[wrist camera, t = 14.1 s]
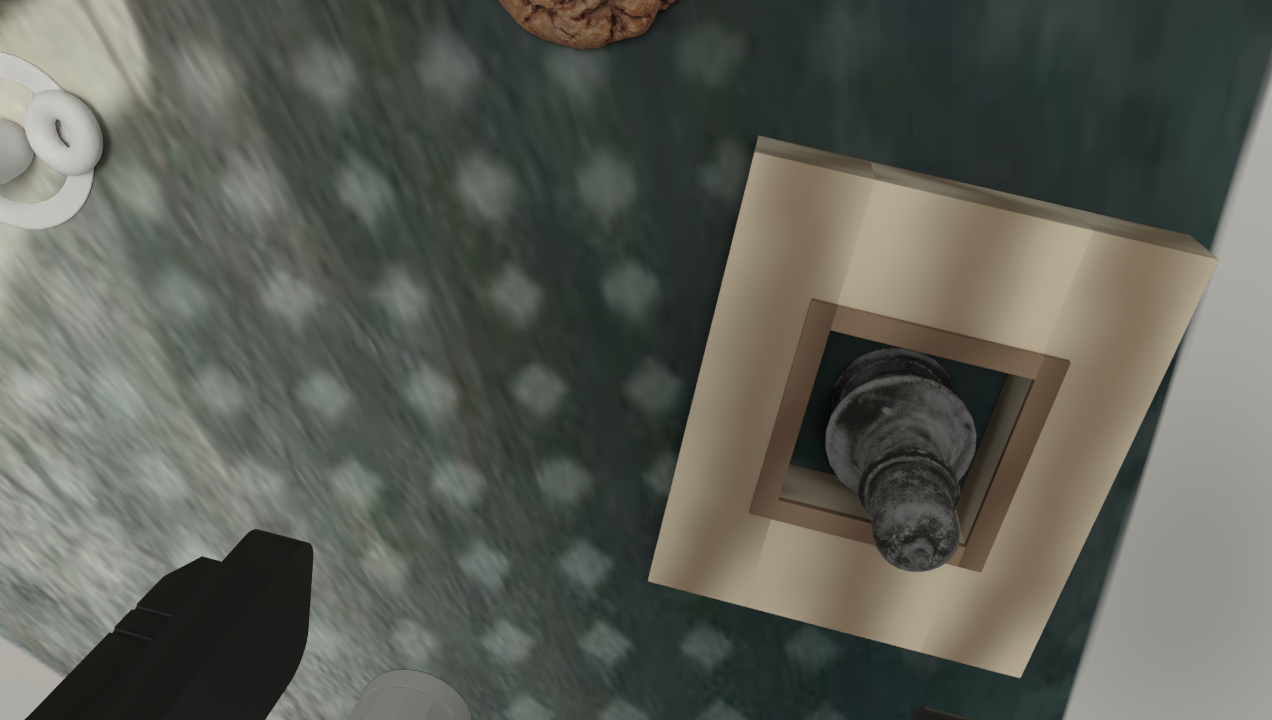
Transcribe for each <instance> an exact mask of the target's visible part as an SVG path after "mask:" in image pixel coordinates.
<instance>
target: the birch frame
mask: <svg viewBox="0 0 1272 720" xmlns="http://www.w3.org/2000/svg"><path fill="white" fill-rule="evenodd" d="M1218 261H1219V260H1218V259H1217V258H1216V257H1215V256H1214V255H1213V254H1211V253H1210V252H1209V251H1208V250H1207V249H1206V248H1204V247H1203V246H1202V245H1201V244H1200V243H1199V242H1197V241H1196V240H1195V239H1194V238H1193V237H1192V236H1190V235H1186V234H1182V233H1178V232H1173V231H1169V230H1165V229H1161V228H1156V227H1152V226H1148V225H1143V224H1139V223H1135V222H1130V221H1126V220H1122V219H1117V218H1113V217H1109V216H1104V215H1100V214H1096V213H1091V212H1087V211H1083V210H1078V209H1074V208H1070V207H1066V206H1061V205H1057V204H1053V203H1048V202H1044V201H1040V200H1035V199H1031V198H1027V197H1022V196H1018V195H1014V194H1009V193H1005V192H1001V191H996V190H992V189H988V188H983V187H979V186H975V185H970V184H966V183H962V182H958V181H953V180H949V179H945V178H940V177H936V176H932V175H927V174H923V173H919V172H914V171H910V170H906V169H901V168H897V167H893V166H888V165H884V164H880V163H875V162H871V161H867V160H863V159H858V158H854V157H850V156H845V155H841V154H837V153H832V152H828V151H824V150H819V149H815V148H811V147H806V146H802V145H798V144H793V143H789V142H785V141H780V140H776V139H772V138H767V137H763V136H759V135H758V139H757V143H756V147H755V151H754V155H753V159H752V163H751V167H750V171H749V175H748V179H747V183H746V187H745V192H744V196H743V200H742V204H741V208H740V212H739V216H738V220H737V224H736V228H735V232H734V236H733V240H732V244H731V248H730V252H729V256H728V260H727V264H726V268H725V272H724V276H723V280H722V284H721V288H720V292H719V296H718V300H717V304H716V308H715V312H714V316H713V320H712V324H711V328H710V332H709V336H708V340H707V344H706V348H705V352H704V356H703V360H702V364H701V368H700V372H699V376H698V380H697V384H696V388H695V392H694V396H693V400H692V404H691V408H690V412H689V416H688V420H687V424H686V428H685V432H684V436H683V440H682V444H681V448H680V452H679V456H678V460H677V464H676V468H675V472H674V476H673V480H672V485H671V489H670V493H669V497H668V501H667V505H666V509H665V513H664V517H663V521H662V525H661V529H660V533H659V537H658V541H657V545H656V549H655V553H654V557H653V561H652V566H651V570H650V574H649V578H648V581H649V582H653V583H656V584H660V585H664V586H668V587H672V588H676V589H679V590H683V591H687V592H691V593H695V594H699V595H702V596H706V597H710V598H714V599H718V600H722V601H725V602H729V603H733V604H737V605H741V606H745V607H749V608H752V609H756V610H760V611H764V612H768V613H772V614H775V615H779V616H783V617H787V618H791V619H795V620H798V621H802V622H806V623H810V624H814V625H818V626H822V627H825V628H829V629H833V630H837V631H841V632H845V633H848V634H852V635H856V636H860V637H864V638H868V639H871V640H875V641H879V642H883V643H887V644H891V645H894V646H898V647H902V648H906V649H910V650H914V651H918V652H921V653H925V654H929V655H933V656H937V657H941V658H944V659H948V660H952V661H956V662H960V663H964V664H967V665H971V666H975V667H979V668H983V669H987V670H991V671H994V672H998V673H1002V674H1006V675H1010V676H1014V677H1017V678H1021V676H1022V674H1023V671H1024V669H1025V667H1026V665H1027V663H1028V661H1029V659H1030V657H1031V655H1032V652H1033V650H1034V648H1035V646H1036V644H1037V642H1038V640H1039V638H1040V636H1041V633H1042V631H1043V629H1044V627H1045V625H1046V623H1047V621H1048V619H1049V617H1050V615H1051V612H1052V610H1053V608H1054V606H1055V604H1056V602H1057V600H1058V598H1059V596H1060V593H1061V591H1062V589H1063V587H1064V585H1065V583H1066V581H1067V579H1068V577H1069V575H1070V572H1071V570H1072V568H1073V566H1074V564H1075V562H1076V560H1077V558H1078V556H1079V553H1080V551H1081V549H1082V547H1083V545H1084V543H1085V541H1086V539H1087V537H1088V534H1089V532H1090V530H1091V528H1092V526H1093V524H1094V522H1095V520H1096V518H1097V516H1098V513H1099V511H1100V509H1101V507H1102V505H1103V503H1104V501H1105V499H1106V497H1107V494H1108V492H1109V490H1110V488H1111V486H1112V484H1113V482H1114V480H1115V478H1116V476H1117V473H1118V471H1119V469H1120V467H1121V465H1122V463H1123V461H1124V459H1125V457H1126V454H1127V452H1128V450H1129V448H1130V446H1131V444H1132V442H1133V440H1134V438H1135V435H1136V433H1137V431H1138V429H1139V427H1140V425H1141V423H1142V421H1143V419H1144V417H1145V414H1146V412H1147V410H1148V408H1149V406H1150V404H1151V402H1152V400H1153V398H1154V395H1155V393H1156V391H1157V389H1158V387H1159V385H1160V383H1161V381H1162V379H1163V376H1164V374H1165V372H1166V370H1167V368H1168V366H1169V364H1170V362H1171V360H1172V358H1173V355H1174V353H1175V351H1176V349H1177V347H1178V345H1179V343H1180V341H1181V339H1182V336H1183V334H1184V332H1185V330H1186V328H1187V326H1188V324H1189V322H1190V320H1191V318H1192V315H1193V313H1194V311H1195V309H1196V307H1197V305H1198V303H1199V301H1200V299H1201V296H1202V294H1203V292H1204V290H1205V288H1206V286H1207V284H1208V282H1209V280H1210V277H1211V275H1212V273H1213V271H1214V269H1215V267H1216V265H1217V263H1218ZM830 330H831V331H835V332H839V333H843V334H848V335H852V336H856V337H860V338H864V339H868V340H872V341H876V342H881V343H885V344H889V345H893V346H897V347H901V348H905V349H910V350H914V351H918V352H922V353H926V354H930V355H934V356H938V357H943V358H947V359H951V360H955V361H959V362H963V363H967V364H971V365H976V366H980V367H984V368H988V369H992V370H996V371H1000V372H1004V373H1008V375H1007V377H1006V380H1005V382H1004V385H1003V387H1002V390H1001V392H1000V395H999V397H998V400H997V402H996V405H995V407H994V410H993V412H992V415H991V417H990V420H989V422H988V425H987V427H986V430H985V432H984V435H983V437H982V440H981V442H980V445H979V447H978V450H977V452H976V455H975V457H974V460H973V462H972V465H971V467H970V470H969V472H968V475H967V477H966V480H965V482H964V485H963V487H962V490H961V493H960V500H959V502H958V505H957V507H956V509H955V514H956V518H957V522H958V526H959V530H960V536H959V544H958V547H957V550H956V552H955V554H954V555H953V556H952V558H951V559H950V560H949V561H948V562H946V563H945V564H944V565H942V566H941V567H938V568H936V569H933V570H930V571H924V572H909V571H906V570H902V569H899V568H897V567H895V566H893V565H891V564H890V563H888V562H887V561H886V560H885V559H884V558H883V557H882V556H881V554H880V552H879V551H878V549H877V547H876V545H875V542H874V538H873V530H872V521H871V519H870V518H869V517H868V516H867V515H866V514H865V512H864V510H863V509H862V507H861V504H860V501H859V497H858V494H857V493H855V492H853V491H851V490H850V489H849V488H848V487H847V486H846V485H845V484H844V483H843V482H842V481H840V480H839V478H838V477H837V476H836V475H832V474H828V473H824V472H820V471H816V470H812V469H808V468H804V467H800V466H796V465H792V464H789V463H790V460H791V457H792V453H793V450H794V447H795V444H796V440H797V437H798V434H799V430H800V427H801V424H802V421H803V417H804V414H805V411H806V408H807V404H808V401H809V398H810V395H811V391H812V388H813V385H814V381H815V378H816V375H817V372H818V368H819V365H820V362H821V359H822V355H823V352H824V349H825V346H826V342H827V339H828V336H829V332H830Z"/></svg>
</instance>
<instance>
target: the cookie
mask: <svg viewBox="0 0 1272 720" xmlns="http://www.w3.org/2000/svg"><path fill="white" fill-rule="evenodd" d="M498 1H499V3H500V4H501V5H502V6H503V7H504V8H505V10H506V11H507V12H508V13H509V14H510V15H511V16H512V17H513V19H514V20H515V21H516V23H517V24H519V25H521V26H522V27H523V28H524V29H525V30H526V31H527V32H530V33H532V34H535V35H536V36H538V37H539V38H541V39H543V40H545V41H549V42H553V43H556V44H560V45H563V46H566V47H570V48H575V49H592V48H600V47H602V46H605V45H607V44H609V43H612V42H615V41H616V40H622V39H625V38H633V37H637V36H639V35H641V34H644V33H645V32H646V31H647V30H648V29H649V28H650V26H651V25H652V23H653V22H654V20H655V17H656V14H657V11H660V10H661V9H666V8H667V7H668V6H669V5H670V4H672V3H673V2H675V1H676V0H498Z"/></svg>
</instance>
